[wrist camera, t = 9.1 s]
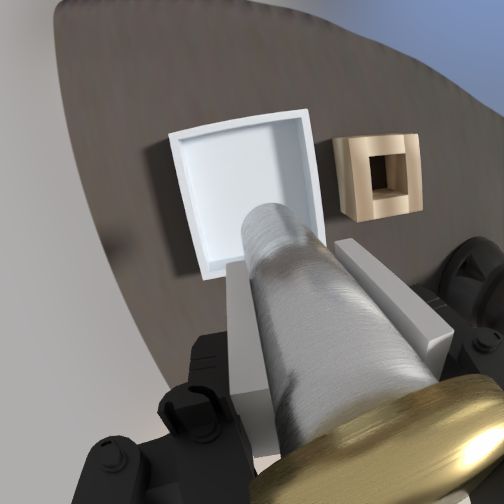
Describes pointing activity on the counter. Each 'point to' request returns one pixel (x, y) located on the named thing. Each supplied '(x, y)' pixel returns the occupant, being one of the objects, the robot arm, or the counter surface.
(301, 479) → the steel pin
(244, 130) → the tray
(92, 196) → the counter surface
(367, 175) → the holder block
